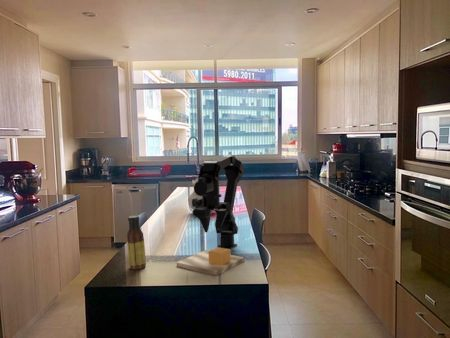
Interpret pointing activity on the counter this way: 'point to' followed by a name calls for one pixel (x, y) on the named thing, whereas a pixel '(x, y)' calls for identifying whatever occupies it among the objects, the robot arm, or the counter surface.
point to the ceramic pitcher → (194, 196)
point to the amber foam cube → (219, 256)
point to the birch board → (207, 263)
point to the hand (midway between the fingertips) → (213, 229)
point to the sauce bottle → (135, 244)
